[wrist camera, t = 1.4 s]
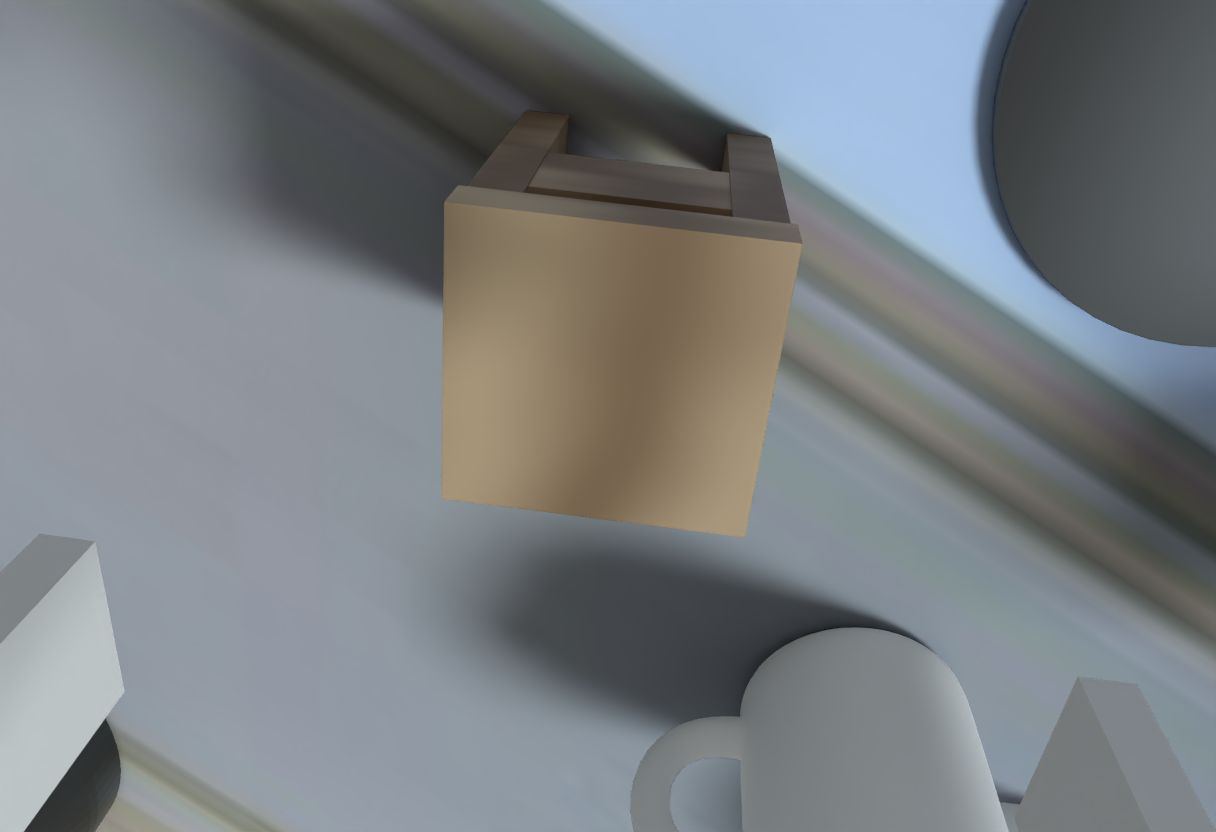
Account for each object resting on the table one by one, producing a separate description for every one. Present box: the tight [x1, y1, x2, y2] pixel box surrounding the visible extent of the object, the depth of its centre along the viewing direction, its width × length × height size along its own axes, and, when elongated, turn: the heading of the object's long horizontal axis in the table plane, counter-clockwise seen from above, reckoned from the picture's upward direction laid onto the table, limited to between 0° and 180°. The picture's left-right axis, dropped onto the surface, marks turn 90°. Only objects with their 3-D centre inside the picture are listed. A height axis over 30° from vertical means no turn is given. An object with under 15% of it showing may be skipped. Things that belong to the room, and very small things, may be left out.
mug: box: [630, 627, 1009, 832], centre depth 32 cm, size 12×8×10 cm
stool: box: [442, 110, 802, 537], centre depth 25 cm, size 7×7×9 cm
